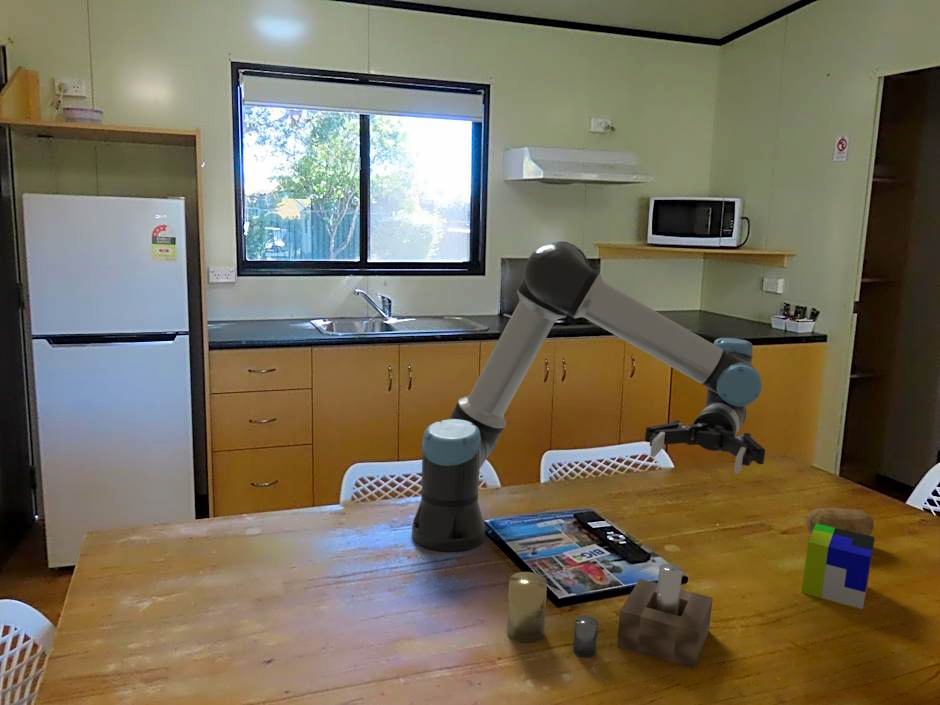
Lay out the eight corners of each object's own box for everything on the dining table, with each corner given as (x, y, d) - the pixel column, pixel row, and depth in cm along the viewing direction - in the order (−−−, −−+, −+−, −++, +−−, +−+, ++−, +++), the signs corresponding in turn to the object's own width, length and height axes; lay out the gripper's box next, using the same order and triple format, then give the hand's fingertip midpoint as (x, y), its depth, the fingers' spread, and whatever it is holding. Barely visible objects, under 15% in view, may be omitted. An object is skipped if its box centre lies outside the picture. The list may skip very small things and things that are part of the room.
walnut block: (617, 645, 117) (619, 610, 116) (637, 611, 127) (639, 578, 126) (694, 669, 112) (698, 632, 110) (709, 631, 122) (712, 597, 121)
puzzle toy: (862, 609, 131) (870, 557, 129) (801, 592, 136) (808, 541, 134) (867, 586, 139) (874, 537, 138) (809, 571, 145) (816, 523, 143)
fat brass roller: (500, 636, 118) (503, 584, 117) (515, 618, 124) (518, 568, 122) (535, 647, 116) (538, 594, 114) (549, 629, 121) (552, 577, 119)
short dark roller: (569, 653, 114) (572, 623, 114) (577, 642, 118) (579, 613, 117) (591, 660, 113) (594, 630, 112) (598, 648, 116) (601, 619, 115)
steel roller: (650, 640, 119) (657, 570, 117) (656, 630, 122) (662, 562, 120) (673, 646, 117) (679, 576, 115) (677, 636, 120) (684, 567, 118)
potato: (883, 554, 153) (889, 518, 152) (820, 556, 151) (825, 519, 150) (854, 534, 163) (859, 499, 161) (794, 535, 161) (798, 500, 159)
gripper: (783, 459, 137) (771, 495, 118) (648, 433, 148) (618, 463, 129) (789, 420, 135) (778, 450, 117) (652, 397, 146) (622, 421, 128)
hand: (694, 457), depth 123 cm, fingers open, 13 cm apart
